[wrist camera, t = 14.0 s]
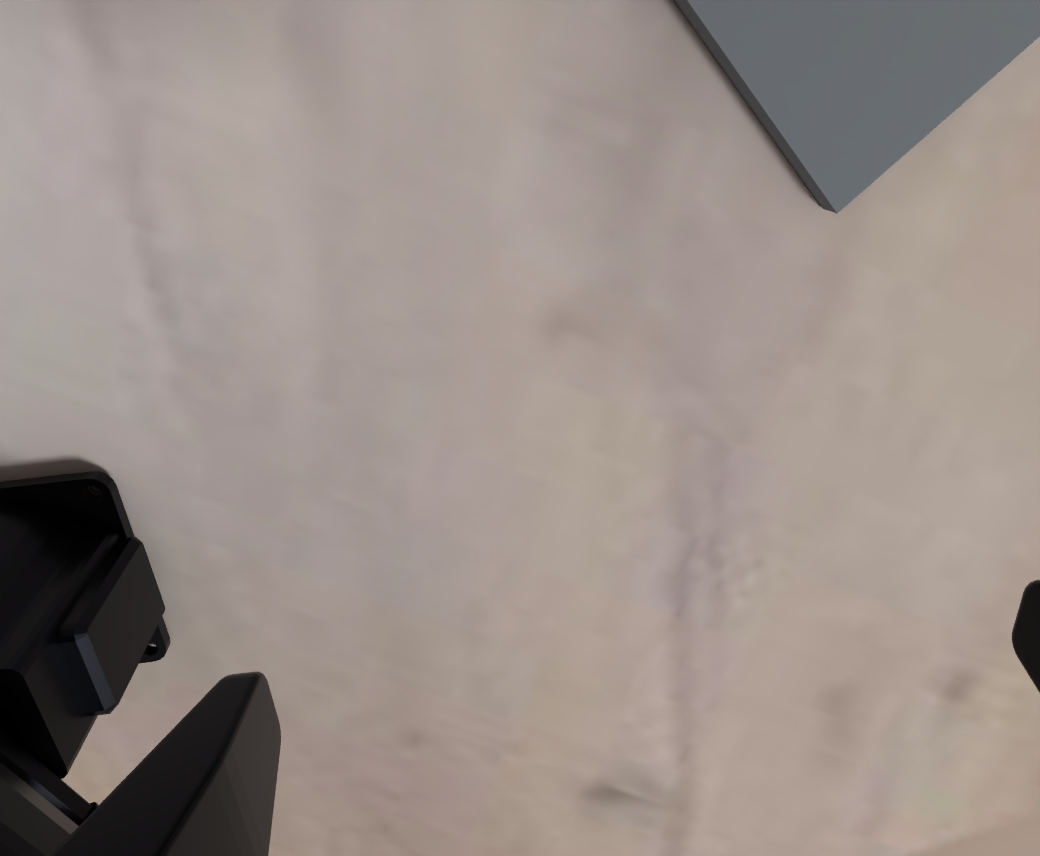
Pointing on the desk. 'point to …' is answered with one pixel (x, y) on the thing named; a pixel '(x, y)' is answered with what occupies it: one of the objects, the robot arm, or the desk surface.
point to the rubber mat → (858, 73)
